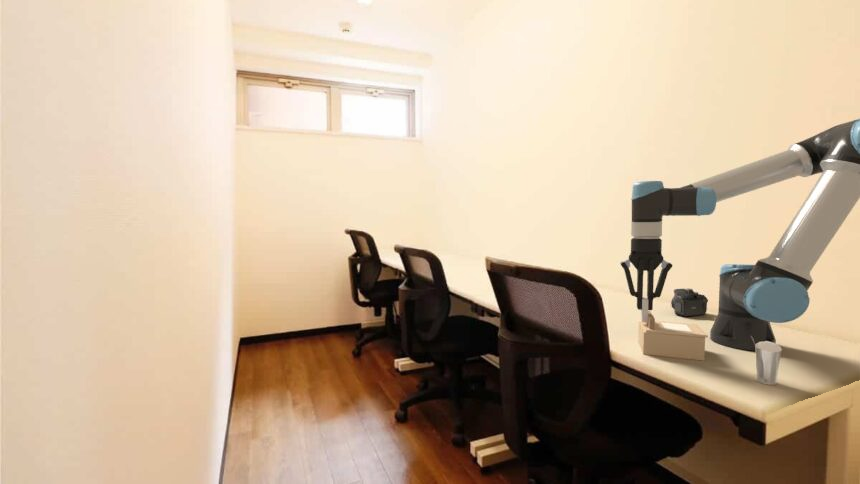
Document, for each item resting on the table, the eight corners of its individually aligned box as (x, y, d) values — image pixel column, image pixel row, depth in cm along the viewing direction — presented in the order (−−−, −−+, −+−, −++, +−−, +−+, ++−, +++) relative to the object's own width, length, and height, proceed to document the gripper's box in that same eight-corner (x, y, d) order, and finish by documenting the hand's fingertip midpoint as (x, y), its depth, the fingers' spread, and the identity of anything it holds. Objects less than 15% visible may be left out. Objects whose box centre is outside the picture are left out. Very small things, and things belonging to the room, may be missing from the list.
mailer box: (693, 347, 114) (694, 326, 113) (704, 360, 103) (705, 337, 103) (638, 341, 119) (638, 321, 118) (643, 354, 109) (643, 332, 108)
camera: (679, 309, 158) (680, 284, 158) (709, 314, 151) (710, 287, 150) (665, 314, 150) (666, 288, 149) (696, 320, 142) (697, 292, 142)
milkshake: (749, 375, 94) (751, 333, 93) (779, 381, 91) (781, 338, 90) (748, 381, 90) (750, 338, 90) (780, 388, 87) (782, 343, 86)
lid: (696, 326, 113) (697, 313, 113) (707, 337, 103) (708, 323, 103) (640, 321, 118) (641, 309, 118) (646, 332, 108) (646, 318, 108)
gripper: (670, 236, 112) (668, 319, 114) (619, 236, 117) (617, 316, 119) (676, 238, 105) (673, 326, 107) (621, 238, 110) (619, 322, 112)
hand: (644, 321), depth 113 cm, fingers closed
